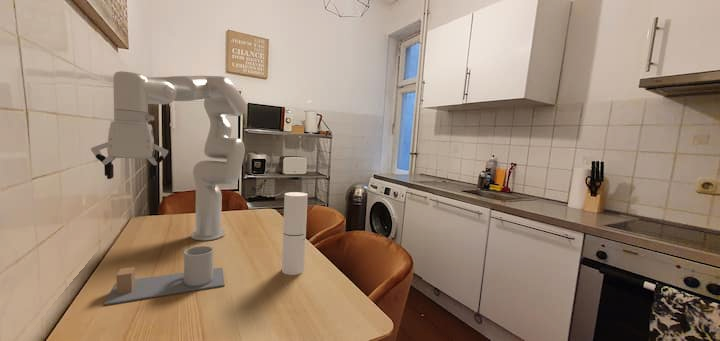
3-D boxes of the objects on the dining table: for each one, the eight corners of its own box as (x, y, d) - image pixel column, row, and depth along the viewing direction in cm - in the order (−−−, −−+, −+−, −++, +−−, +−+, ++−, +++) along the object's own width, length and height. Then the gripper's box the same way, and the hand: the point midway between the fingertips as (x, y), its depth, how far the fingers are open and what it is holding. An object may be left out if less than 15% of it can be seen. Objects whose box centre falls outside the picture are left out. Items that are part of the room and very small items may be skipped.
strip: (117, 282, 79) (117, 263, 79) (222, 268, 92) (222, 252, 91) (104, 305, 69) (103, 283, 68) (224, 285, 81) (224, 267, 81)
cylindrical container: (277, 269, 94) (280, 193, 91) (295, 263, 99) (298, 191, 97) (289, 277, 89) (293, 197, 87) (308, 270, 94) (312, 194, 92)
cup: (191, 289, 77) (191, 257, 76) (175, 277, 83) (175, 247, 82) (217, 280, 83) (218, 250, 82) (201, 270, 89) (201, 241, 88)
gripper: (169, 121, 89) (169, 176, 90) (95, 115, 80) (96, 176, 82) (166, 120, 82) (166, 180, 84) (85, 114, 74) (87, 180, 75)
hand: (132, 178), depth 83 cm, fingers open, 9 cm apart
